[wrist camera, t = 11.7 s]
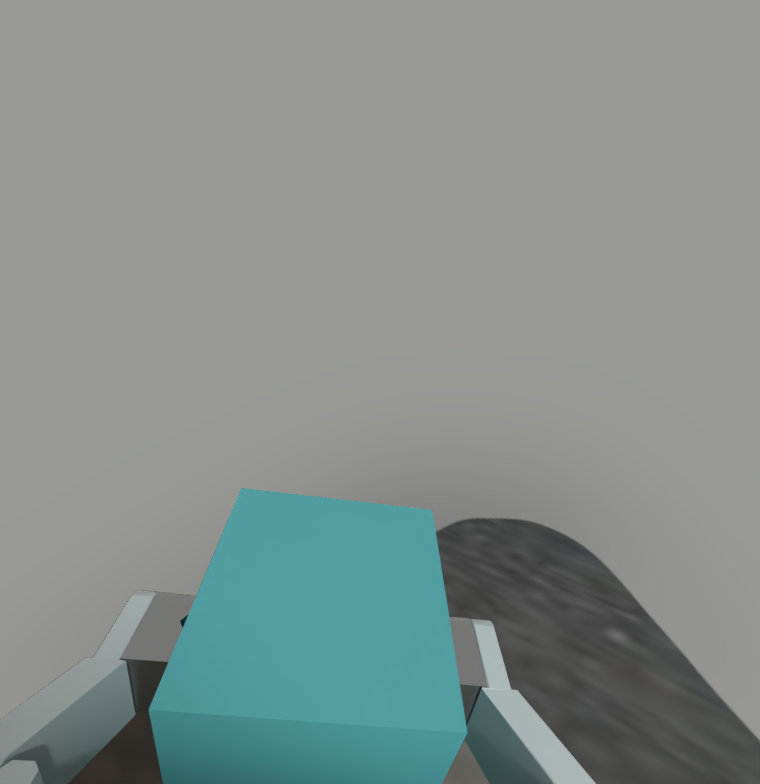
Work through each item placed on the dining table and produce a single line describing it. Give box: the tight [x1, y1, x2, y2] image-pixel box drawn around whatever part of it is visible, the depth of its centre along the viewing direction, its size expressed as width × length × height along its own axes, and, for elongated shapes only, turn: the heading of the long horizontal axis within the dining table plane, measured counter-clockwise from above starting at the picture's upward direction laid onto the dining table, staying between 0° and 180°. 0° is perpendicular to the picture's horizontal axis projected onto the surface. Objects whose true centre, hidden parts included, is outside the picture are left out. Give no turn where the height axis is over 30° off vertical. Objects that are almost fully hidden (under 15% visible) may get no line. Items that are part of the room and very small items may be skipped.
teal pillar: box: [149, 488, 467, 784], centre depth 10 cm, size 4×4×10 cm
